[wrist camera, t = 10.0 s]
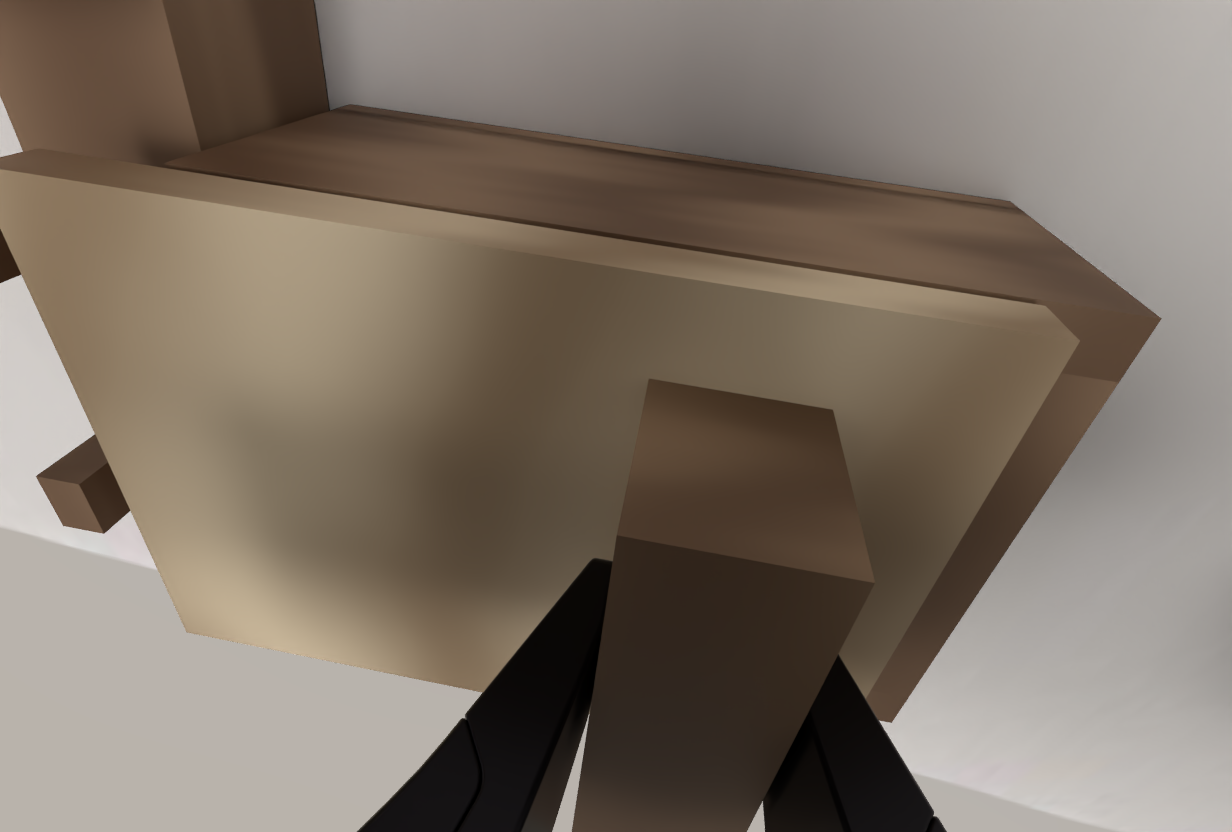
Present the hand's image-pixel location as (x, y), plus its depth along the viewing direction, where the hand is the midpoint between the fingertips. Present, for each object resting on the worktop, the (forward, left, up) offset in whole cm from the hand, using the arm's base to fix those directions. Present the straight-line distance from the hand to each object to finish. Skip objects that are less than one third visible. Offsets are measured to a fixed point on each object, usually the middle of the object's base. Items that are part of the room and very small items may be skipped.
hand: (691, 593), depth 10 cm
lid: (+3, 0, -2) cm, 4 cm away
